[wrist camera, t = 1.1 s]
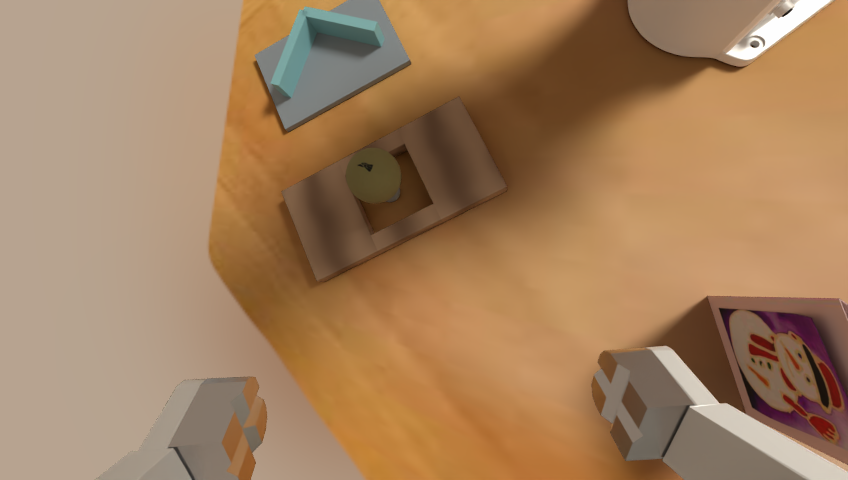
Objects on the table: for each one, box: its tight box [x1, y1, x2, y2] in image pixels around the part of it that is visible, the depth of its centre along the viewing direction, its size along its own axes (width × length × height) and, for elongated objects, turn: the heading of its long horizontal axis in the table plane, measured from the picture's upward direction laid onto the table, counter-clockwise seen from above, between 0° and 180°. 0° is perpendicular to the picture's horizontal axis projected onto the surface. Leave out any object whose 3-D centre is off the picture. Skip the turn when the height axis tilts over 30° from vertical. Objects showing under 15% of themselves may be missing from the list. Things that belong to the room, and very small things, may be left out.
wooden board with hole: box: [281, 97, 507, 282], centre depth 45 cm, size 24×12×2 cm, turn 115°
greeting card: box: [707, 296, 848, 465], centre depth 29 cm, size 11×7×15 cm, turn 12°
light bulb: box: [346, 148, 401, 203], centre depth 41 cm, size 6×6×10 cm
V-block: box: [255, 0, 411, 132], centre depth 48 cm, size 18×12×4 cm, turn 115°
